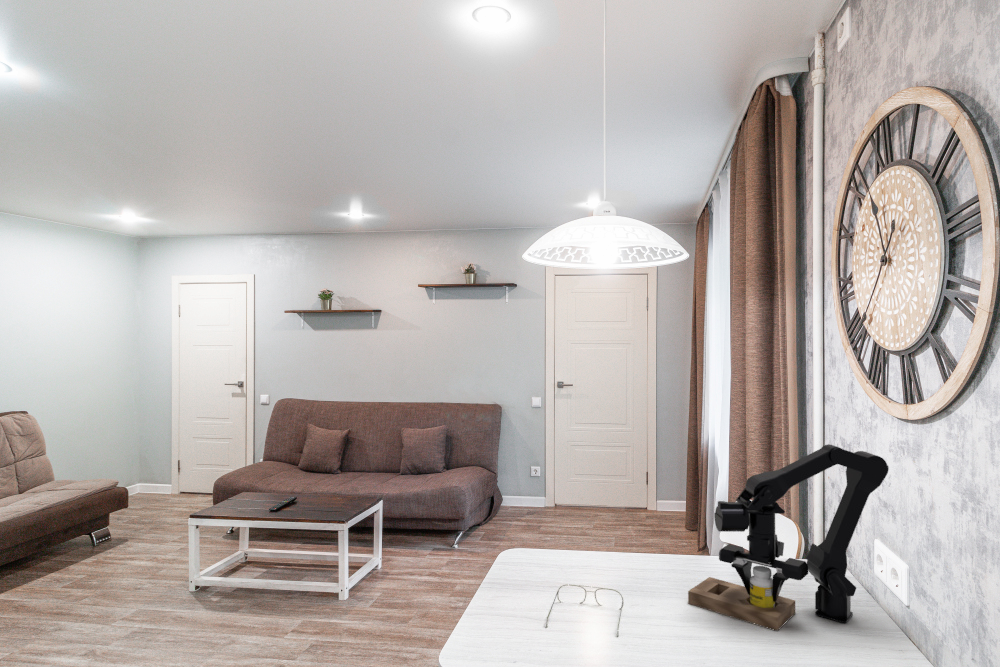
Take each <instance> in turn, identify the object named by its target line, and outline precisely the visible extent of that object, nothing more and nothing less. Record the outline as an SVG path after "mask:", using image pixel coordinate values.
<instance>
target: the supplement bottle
mask: <svg viewBox="0 0 1000 667" xmlns="http://www.w3.org/2000/svg"><path fill="white" fill-rule="evenodd" d="M750 604H751V605H754V606H758V607H761V608H775V602H774V601H773V577H772V569H771V567H768V566H764V565H756V566H753V567H752V575H751V578H750Z"/></svg>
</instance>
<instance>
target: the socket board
mask: <svg viewBox="0 0 1000 667" xmlns="http://www.w3.org/2000/svg"><path fill="white" fill-rule="evenodd" d="M687 598H688V602H687V603H688V604H689V605H692V606H696V607H699V608H702V609H705V610H708V611H710V612H715V613H718V614H721V615H724V616H727V617H730V616H731V618H734V619H737V620H740V619H741V620H740V621H743V620H744V622H746V621H747V623H750V622H751V623H750V624H753V623H755V624H754V625H756V624H758V625H757V626H759V625H761V626H760V627H762V626H764V628H766V627H768V628H767V629H769V628H771V629H770V630H772V629H774V630H773V631H775V630H778V631H780V629H781V628H782V627H783V626H784V625H785V624H786V623H787V622H788V621H789V620H790V619H791V618H792V617H793V616H795V614H796V600H795V599H791V598H787V597H783V596H781V595H779V596H778V599H777V601H776V602H775V608H761V607H758V606H754V605H751V604H750V595H749V594H748V592H747V590H746V588H745V586H744V585H741V584H736V583H733V582H729V581H725V580H722V579H719V578H714V577H711V576H708V577H707V578H706V579H704V580H703V581H701V582H700V583H698V584H697V585H695V586H694V587H691V589H689V590H688V591H687ZM792 615H793V616H792ZM791 616H792V617H791ZM790 617H791V618H790ZM789 618H790V619H789ZM788 619H789V620H788ZM787 620H788V621H787ZM786 621H787V622H786ZM785 622H786V623H785ZM784 623H785V624H784ZM783 624H784V625H783ZM782 625H783V626H782ZM781 626H782V627H781ZM780 627H781V628H780ZM779 628H780V629H779Z"/></svg>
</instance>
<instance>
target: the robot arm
mask: <svg viewBox="0 0 1000 667" xmlns="http://www.w3.org/2000/svg"><path fill="white" fill-rule="evenodd" d="M836 465H840V466H842V467H845V468H846V469H845V470H846V471H845V478H846V487H845V489H844V492H843V494H842V497H841V498H840V502H839V504H838V506H837V508H836V511H835V514H834V516H833V519H832V521H831V523H830V526H829V528H828V531H827V533H826V536H825V537H824V538H825V539H824V540H823V541H822V542H821V543H820V544H819V545H817V544H815V543H811V544H810V548H809V552H808V554H807V555H806V556H805V560H807V561H805V560H801V559H797V558H792V557H789V558H788V559H786V560H785V561H783V560H780V559H779V558H780V557H783V556H784V547H785V542H782V541H780V540H778V534H776V515H777V514H785V512H786V511H785V509H783V508H782V507H781V506H780V505H779V503H778V502H777V501H779V500H780V499H781V498H783V497H785V495H786V494H787V492H788V491H789V490H790V489H791V488H793V487H794V486H796V485H798V484H800V483H802V482H805V481H806V480H808V479H810V478H811V477H814V476H816V475H818V474H819V473H822V472H823V471H826V470H828V469H830V468H833V467H834V466H836ZM889 470H890V469H889V465H888V463H887V461H886V460H885V459H884V458H883V457H881V456H879V455H876V454H873V453H871V452H867V451H863V450H858V451H856V452H852V451H849V450H846V449H843V448H841V447H839V446H836V445H833V444H825V445H823V446H822V447H821V448H819V449H818V450H815V451H813V452H812V453H809V454H807V455H806V456H803V457H801V458H799V459H798V460H795V461H794V462H791V463H789V464H787V465H785V466H784V467H782V468H779V469H776V470H771V471H764V472H763V471H762V472H760V473H757V474H754V475H751V476H750V477H749V478H747V480H746V483H745V487H744V488H743V490H742V491H741V493H740V494H739V495H738V496H737V497H736V499H735V501H724V500H723V501H722V500H721V501H720V500H718V501H717V506H716V507H715V512H714V514H713V515H714V516H713V517H714V524H715V527H716V530H717V532H731V533H732V532H733V533H734V532H738V533H739V532H740V533H741V532H745V531H746V530H748V535H746V541H747V542H748V552H745V549H744V547H743V546H738V545H735V544H731V543H728V544H727V545H725V546H723V547H722V548H721V549H719V552H718V560H719V561H720V562H724V563H728V564H731V565H730V566H731V567H732V568H734V569H735V571H736V572H737V574H738V575H739V577H740V579H741V581H742V584H743V586H744V587H745V588H746V590H747V592H748V594H749V595H750V578H751V577H752V566H753V564H756V565H758V566H764V567H768V568H773V569H775V570H776V572H775V573H774V574H773V575H772V579H773V601H774V602H776V601H777V599H778V596H780V592H781V590H782V588H783V585H784V583H785V581H788V580H790V579H792V580H796V581H802V580H803V579H804V578H805V577H806V576H808V575H809V574H810V575H811V576H813V578H814V581H815V582H816V583H818V584H819V585H818V586H817V590H816V591H815V593H814V598H815V599H814V602H815V604H814V608H815V610H816V611H815V615H816V616H818V617H821V618H825V619H828V620H832V621H834V622H835V621H836V622H840V623H841V624H842V623H843V624H847V623H848V622H849V620H850V619H851V618H852V616H854V612H852V610H851V607H852V606H851V602H852V601H851V598H852V597H854V596H855V594H856V590H857V586H856V585H854V583H852V581H850V580H849V579H848V578H847V577H846V572H847V570H848V560H847V559H848V558H847V551H848V548H849V546H850V543H851V540H852V537H853V535H854V534H855V530H856V528H857V525H858V524H859V520H860V518H861V515H862V514H863V511H864V508H865V506H866V504H867V501H868V499H869V497H870V494H871V493H873V492H874V491H875V490H877V489H878V488H879V487H880V486H881V485H882V483H883V482H884V481H885V478H886V477H887V475H888V473H889Z"/></svg>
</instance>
